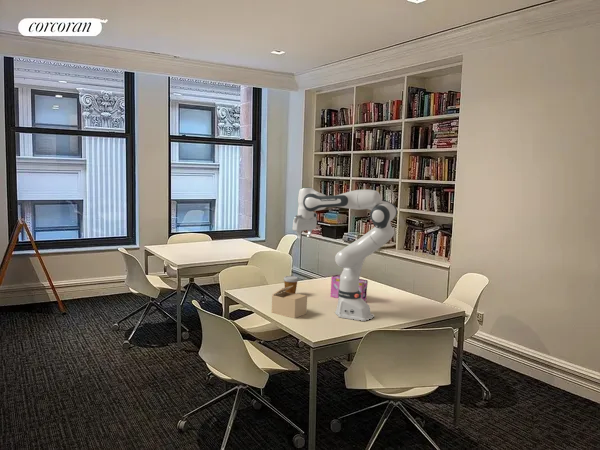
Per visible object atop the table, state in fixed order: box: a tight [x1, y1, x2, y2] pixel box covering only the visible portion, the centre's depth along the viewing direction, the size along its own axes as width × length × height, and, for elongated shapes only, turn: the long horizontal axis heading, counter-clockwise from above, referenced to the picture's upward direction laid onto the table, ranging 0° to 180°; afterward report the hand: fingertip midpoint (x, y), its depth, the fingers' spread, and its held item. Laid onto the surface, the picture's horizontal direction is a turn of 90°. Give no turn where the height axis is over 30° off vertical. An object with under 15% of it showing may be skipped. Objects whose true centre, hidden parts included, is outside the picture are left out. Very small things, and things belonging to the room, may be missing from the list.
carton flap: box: [271, 285, 293, 296], centre depth 285 cm, size 8×11×1 cm
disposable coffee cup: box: [283, 275, 299, 294], centre depth 322 cm, size 10×10×12 cm
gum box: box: [330, 274, 369, 302], centre depth 320 cm, size 24×8×14 cm, turn 57°
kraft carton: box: [271, 291, 308, 319], centre depth 283 cm, size 16×12×10 cm
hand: (304, 237), depth 294 cm, fingers open, 8 cm apart
